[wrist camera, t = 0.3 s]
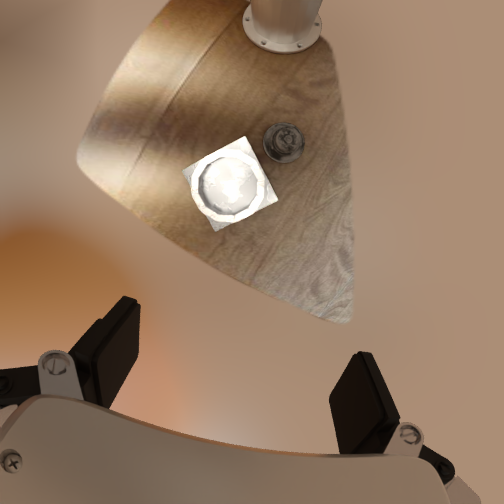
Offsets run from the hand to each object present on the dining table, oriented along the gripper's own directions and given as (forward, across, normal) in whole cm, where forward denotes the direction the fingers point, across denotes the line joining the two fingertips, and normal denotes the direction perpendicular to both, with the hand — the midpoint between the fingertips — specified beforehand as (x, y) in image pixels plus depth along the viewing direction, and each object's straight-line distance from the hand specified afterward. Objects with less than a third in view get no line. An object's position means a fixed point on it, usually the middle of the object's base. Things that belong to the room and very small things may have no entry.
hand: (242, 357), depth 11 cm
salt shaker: (+35, -1, -11) cm, 37 cm away
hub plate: (+35, +5, -3) cm, 36 cm away
